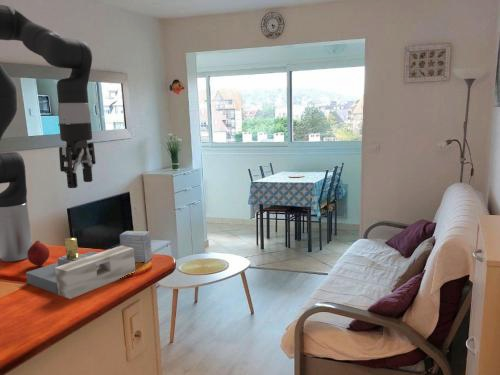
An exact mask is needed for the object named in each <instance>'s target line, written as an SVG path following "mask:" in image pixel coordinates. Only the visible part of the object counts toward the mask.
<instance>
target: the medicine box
mask: <svg viewBox="0 0 500 375" xmlns="http://www.w3.org/2000/svg"><path fill="white" fill-rule="evenodd" d="M119 244H120V245H119V246H126V247H131V248H134V259H135V263H136V262H144V263H143V264H147V263H148V262H149V261H150V260H152V259H153V254H152V242H151V232H150V231H149V230H148V231H146V230H143V231H142V230H141V231H140V230H125V231H124V232H122V233H120V234H119Z"/></svg>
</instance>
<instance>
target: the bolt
mask: <svg viewBox="0 0 500 375" xmlns="http://www.w3.org/2000/svg"><path fill="white" fill-rule="evenodd" d="M64 245H65V246H64V247H65V255H62V256H60V258H64V259H67V260H71V261H76V260H80V259H83V258H86V257H82V256H79V255H78V254H79V249H78V248H79V246H78V240H77V237H69V238H68V237H67V238H65V239H64Z"/></svg>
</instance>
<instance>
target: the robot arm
mask: <svg viewBox="0 0 500 375" xmlns="http://www.w3.org/2000/svg"><path fill="white" fill-rule="evenodd" d="M0 40H1V41H18V42H22V44H23V45H24V47H25V48H27V49H28V50H29V51H30V52H32V53H33V54H36V55H39V56H40V57H42V58H43V59H44V60H45V62H46V63H47V64H49V65H50V66H53V67H55V68H58V69H71V72H70V76H69V77H67V78H66V77H65V78H61V79H59V80H58V81H57V82H56V92H57V106H58V108H57V112H58V116H57V117H58V125H59V137H60V140H61V141H62V142H65V143H66V145H65V146H59V148H58V154H59V156H58V157H59V170H60V172H63V173H65V174H66V182H67V188H68V189H76V188H78V177H77V176H78V175H77V170H78V167H79V166H80V164H81V166H82V168H81V169H82V178H83V182H84V183H91V182H93V167H94V165H96V164H97V163H96V161H97V160H96V153H95V146H94V142H88V141H92V140H93V128H92V118H91V117H92V115H91V109H90V104H89V92H88V85H89V81H90V80H89V79H90V74H91V70H92V64H93V53H92V50H91V48H90V46H89V44H87V42H85V41H84V40H81V39H73V38H69V37H66V38H65V37H62V36H61V35H60V34H59V33H57V32H56V31H53V30H52V29H49V28H46V27H44V26H42V25H40V24H38V23H35V22H33V21H32V20H31V19H29V18H28V17H26V16H25V15H24V14H23V13H21V12H20V11H19V10H17V9H15V8H14V7H12V6H8V5H4V4H0ZM17 110H18V96H17V88H16V84H15V82H14V81H13V80H12V78H11V76H10V75H9V73H8V72H7V70H6V69H5V68H4V66H3V64H2V63H1V62H0V141H1V140H2V137H3V135H4V134H5V132H6V131H7V129H8V128H9V126H10V125H11V123H12V121H13V120H14V118H15V116H16V114H17ZM25 165H26V164H25V161H24V159H23V156H22V155H21V154H20V153H19V152H16V151H10V152H9V151H8V152H7V151H6V152H0V184H1V185H2V184H7V183H9V184H8V186H7V187H6V188H5V189H4V190H3V191H1V192H0V261H2V262H16V261H22V260H26V259H28V257H27V253H28V250H29V248H30V247H31V246H32V245H33V238H32V230H31V223H30V215H29V206H28V200H27V196H28V195H27V194H28V188H27V179H26V178H27V175H26V166H25Z"/></svg>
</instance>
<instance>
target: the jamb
mask: <svg viewBox="0 0 500 375" xmlns="http://www.w3.org/2000/svg"><path fill="white" fill-rule="evenodd" d="M97 253H98V254H95V255H92V256H89V257H86V258H83V259H80V260H76V261H73V262H70V263H67V264H64V265H61V266H58V267H55V272H56V281H57V289H58V294H57V295H58V296H61V297H64V298H66V299H69V300H71V299H74V298H76V297H79V296H81V295H83V294H85V293H88V292H90V291H91V292H92V291H93V290H95V289H99V288H100V287H103V286H105V285H108V284H111V283H113V282H116V281H118V280H120V278H121V279H123V278H125V277H126V276H125V275H127V274H129V273H132V272H134V271H136V262H135V259H134V248H131V247H126V246H121V245H119V246H116V247H113V248H110V249H106V250H105V251H104V250H103V251H101V252H97ZM97 265H99V268H97V269H96V266H97ZM124 276H125V277H124ZM122 277H123V278H122Z"/></svg>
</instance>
